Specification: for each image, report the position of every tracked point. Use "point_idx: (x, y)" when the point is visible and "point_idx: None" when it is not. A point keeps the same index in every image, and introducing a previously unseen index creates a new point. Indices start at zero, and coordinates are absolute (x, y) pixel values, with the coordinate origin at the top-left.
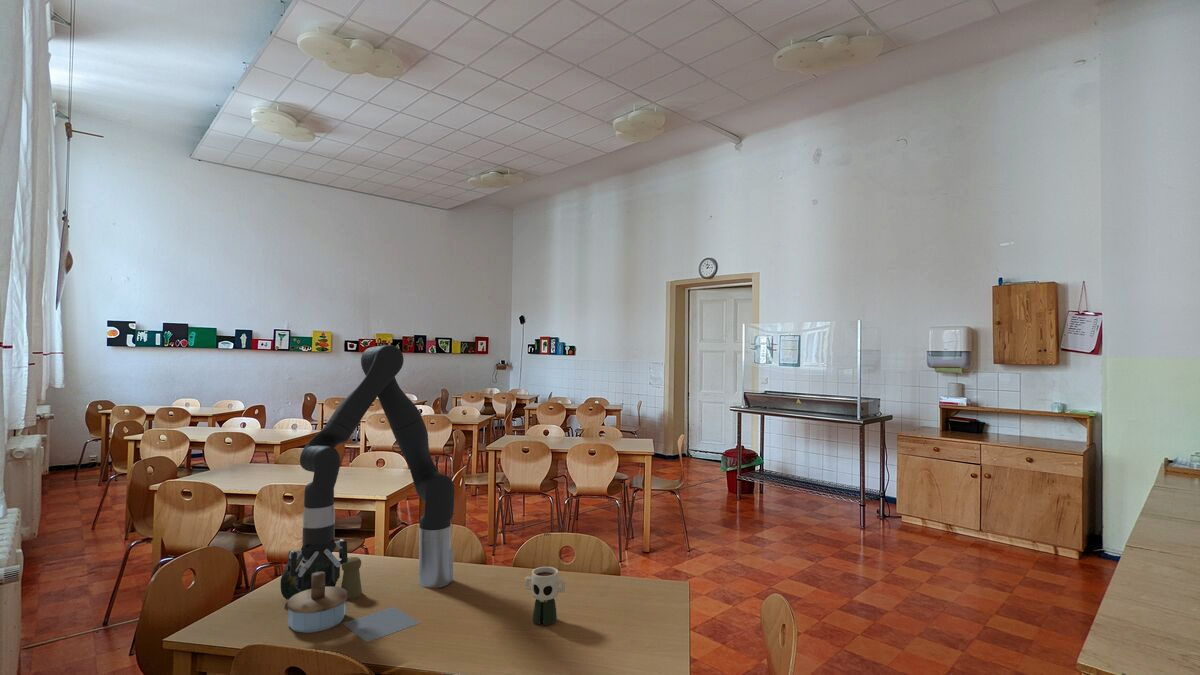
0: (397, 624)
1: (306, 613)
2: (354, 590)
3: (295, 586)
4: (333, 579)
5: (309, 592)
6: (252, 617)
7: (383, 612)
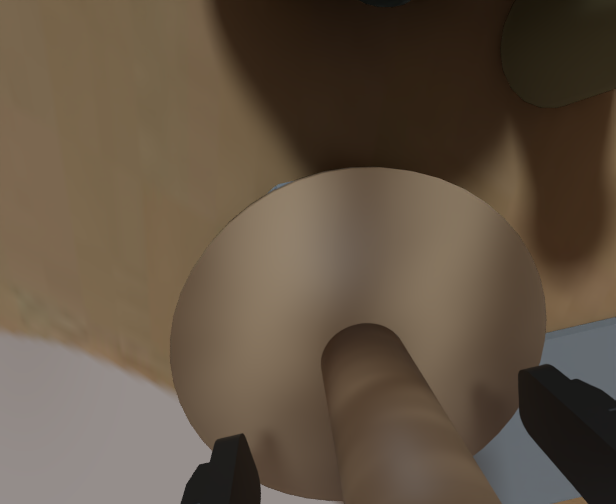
0: None
1: None
2: (607, 90)
3: (187, 491)
4: (531, 409)
5: (327, 244)
6: (20, 19)
7: (586, 350)
